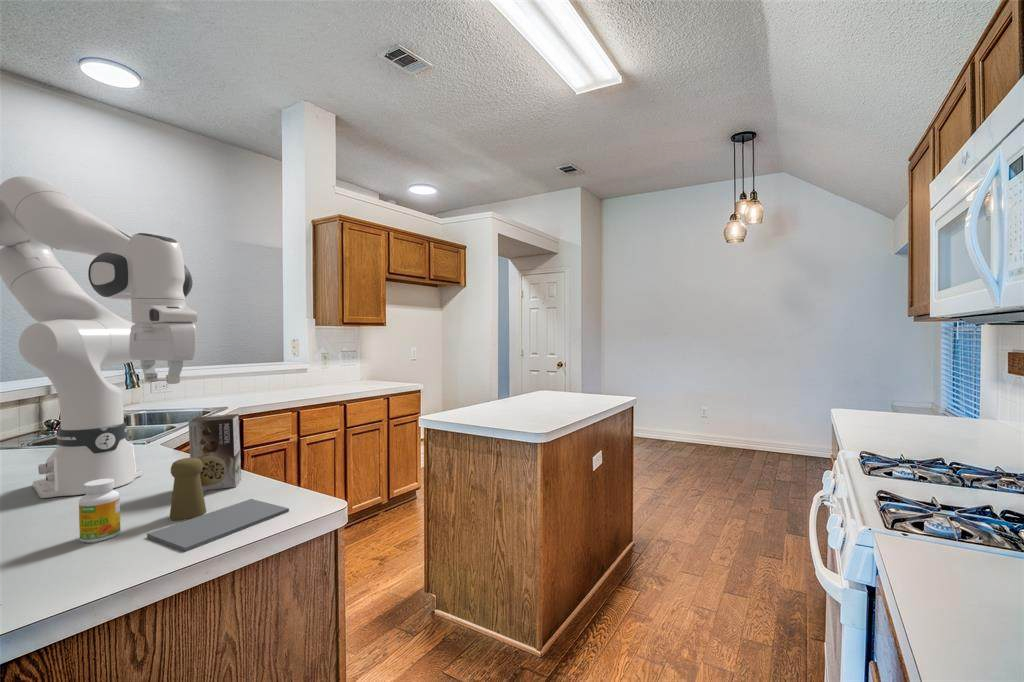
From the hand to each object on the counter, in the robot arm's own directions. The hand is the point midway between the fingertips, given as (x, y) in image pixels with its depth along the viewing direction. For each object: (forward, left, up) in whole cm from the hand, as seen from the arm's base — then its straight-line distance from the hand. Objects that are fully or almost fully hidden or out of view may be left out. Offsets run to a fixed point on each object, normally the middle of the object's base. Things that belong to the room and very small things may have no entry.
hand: (161, 382), depth 95 cm
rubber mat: (+18, +1, -26) cm, 32 cm away
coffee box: (-5, +13, -26) cm, 29 cm away
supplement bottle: (+5, -12, -26) cm, 29 cm away
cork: (+8, 0, -26) cm, 27 cm away
